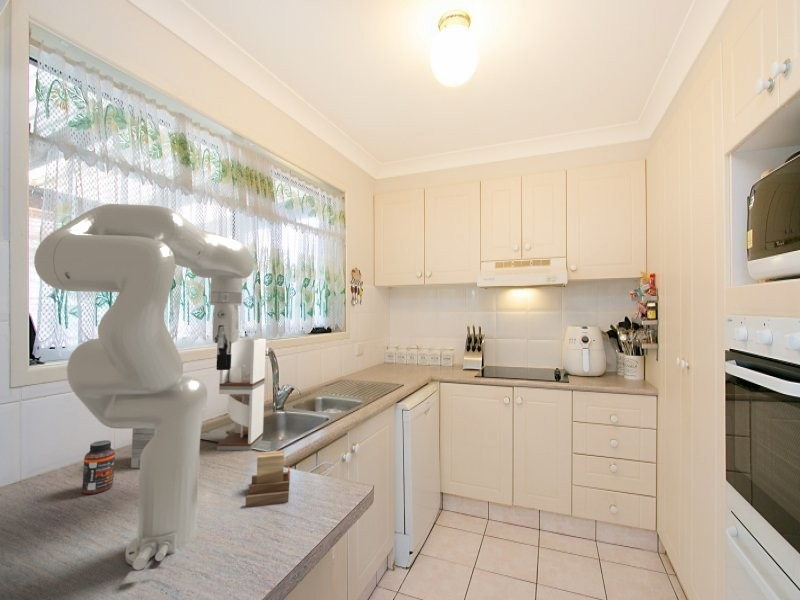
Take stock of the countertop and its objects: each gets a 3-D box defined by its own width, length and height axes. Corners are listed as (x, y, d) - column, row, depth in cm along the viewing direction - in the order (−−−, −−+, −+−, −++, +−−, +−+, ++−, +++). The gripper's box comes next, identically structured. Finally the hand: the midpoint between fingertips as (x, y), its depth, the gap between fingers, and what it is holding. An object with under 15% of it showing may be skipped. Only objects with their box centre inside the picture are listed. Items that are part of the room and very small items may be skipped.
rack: (288, 508, 82) (288, 483, 83) (245, 513, 80) (246, 488, 80) (289, 485, 93) (290, 463, 94) (251, 489, 91) (252, 467, 91)
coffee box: (148, 455, 111) (151, 402, 112) (171, 455, 112) (173, 402, 112) (129, 468, 102) (132, 410, 103) (153, 467, 103) (156, 410, 103)
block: (282, 488, 89) (283, 455, 89) (256, 491, 87) (257, 457, 87) (283, 483, 91) (283, 450, 92) (257, 485, 90) (258, 452, 90)
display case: (232, 438, 128) (235, 338, 130) (262, 438, 129) (265, 338, 130) (217, 450, 117) (221, 340, 118) (250, 450, 117) (254, 340, 119)
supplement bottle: (95, 496, 86) (97, 447, 87) (75, 493, 88) (77, 445, 88) (119, 485, 92) (121, 439, 93) (100, 482, 93) (102, 437, 94)
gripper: (236, 299, 90) (234, 373, 90) (245, 301, 105) (243, 365, 104) (203, 298, 88) (200, 374, 88) (216, 300, 103) (214, 366, 102)
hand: (223, 369), depth 96 cm, fingers closed
